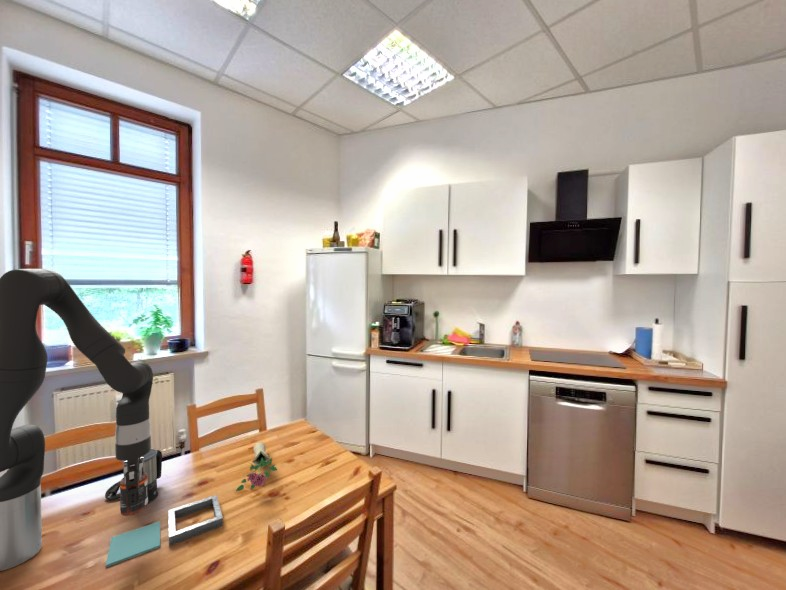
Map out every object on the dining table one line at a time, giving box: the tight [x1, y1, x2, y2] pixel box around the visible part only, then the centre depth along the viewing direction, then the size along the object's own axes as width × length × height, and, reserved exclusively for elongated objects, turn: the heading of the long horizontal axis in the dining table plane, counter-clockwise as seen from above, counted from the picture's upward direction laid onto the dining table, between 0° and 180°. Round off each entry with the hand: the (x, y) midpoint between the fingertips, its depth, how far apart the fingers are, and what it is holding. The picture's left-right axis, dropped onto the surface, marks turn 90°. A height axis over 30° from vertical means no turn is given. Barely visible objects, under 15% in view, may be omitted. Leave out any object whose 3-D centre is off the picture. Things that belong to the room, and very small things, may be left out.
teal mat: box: [105, 520, 161, 568], centre depth 88 cm, size 11×11×1 cm
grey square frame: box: [167, 494, 224, 547], centre depth 96 cm, size 13×13×2 cm
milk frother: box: [104, 448, 163, 505], centre depth 107 cm, size 14×16×15 cm
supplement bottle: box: [119, 467, 149, 517], centre depth 88 cm, size 6×6×11 cm
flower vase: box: [235, 441, 278, 492], centre depth 120 cm, size 12×12×35 cm
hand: (134, 497), depth 88 cm, fingers closed on supplement bottle, 6 cm apart
